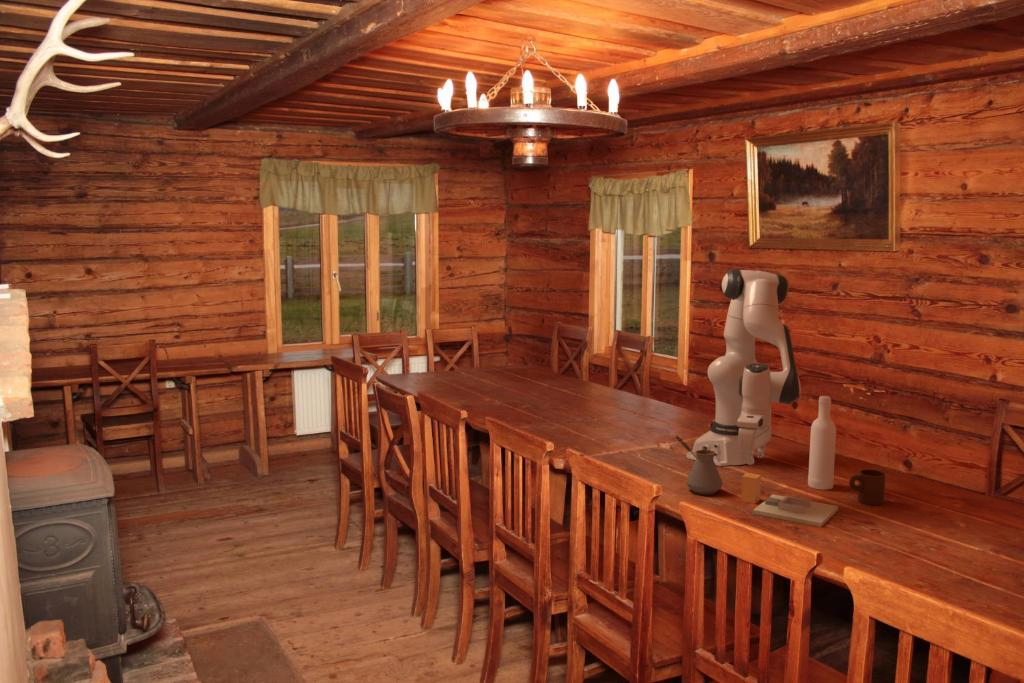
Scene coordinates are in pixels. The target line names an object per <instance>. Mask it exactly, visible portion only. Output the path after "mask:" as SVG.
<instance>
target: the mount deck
mask: <svg viewBox="0 0 1024 683" xmlns="http://www.w3.org/2000/svg"><path fill="white" fill-rule="evenodd" d="M752 510H753V511H752V514H753V515H756V516H757V515H758V516H763V517H768V518H774V519H778V520H783V521H788V522H793V523H794V522H795V523H800V524H805V525H809V526H813V527H815V526H816V527H820V528H822V527H823V526H824V525H825V524H826V523H827V522H828V521H829V520H830V519H831V518H832V517H833V516H834V515H835V513H837V511H839V506H838V505H835V504H829V503H822V502H817V501H812V500H811V499H808V498H803V497H796V496H790V495H786V496H783V495H778V494H771V495H769V497H767V498H766V499H765V500H764V501H763V502H761V503H760V504H759V505H757V506H756V507H755V508H754V509H752Z"/></svg>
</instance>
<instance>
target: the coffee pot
mask: <svg viewBox="0 0 1024 683" xmlns="http://www.w3.org/2000/svg"><path fill="white" fill-rule="evenodd" d="M675 438H676V440H675ZM672 441H674V442H676V441H678V443H680V444H681V445H682V447H683V448H685V449H686V450H687V451H688V452H691V454H692V455H693V456H694V457H695V458H696V460H694V461H695V462H694V464H693V466H692V468H691V470H690V472H689V474H688V476H687V478H686V479H685V480H686V485H687V487H688V489H690V490H691V491H692V492H693V493H695V494H699V495H713V494H716V493H717V492H718V491H719V490H721V488H722V487H723V481H722V478H721V475H720V473H719V471H718V467H717V465H715V462H714V460H713V458H714V455H715V454H716V453H715V452H714V451H710V450H697V451H696V452H695V453H694V452H693V451H692V450H693V449H691V447H690V446H689V445H688V443H686V442H685V441H684V440H683V439H682V438H680V436H678V435H675V436H674V437H673V440H672Z"/></svg>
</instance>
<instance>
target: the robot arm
mask: <svg viewBox="0 0 1024 683" xmlns="http://www.w3.org/2000/svg"><path fill="white" fill-rule="evenodd" d="M721 289H722V294H723V296H724V297H725V298H727V299H729V300H730V303H729V306H728V309H727V315H726V320H725V326H724V329H723V330H724V331H723V337H724V340H725V345H726V346H725V347H726V348H725V350H726V352H725V354H724V355H722V356H719V357H717V358H716V359H714V360H713V361H712V362H711V363H710V364H709V366H708V367H707V377H708V379H709V382H710V383H711V384H712V387H713V392H714V397H715V418H714V419H713V420H712V421H711V422H709V423H708V428H709V429H710V430H708V431H707V432H705V433H704V434H702V435H701V436H699V437H698V438H697V439H695V441H694V444H693V447H692V449H691V450H692V451H693V452H694V453H695V452H696V451H697V450H710V451H714V452H715V453H716V454H715V455H714V458H713V460H714V462H715V465H716V466H718V467H726V466H727V467H728V466H741V465H746V464H747V465H750V466H753V465H754V464H755V458H754V453H755V451H756V450H757V451H756V457H757V458H758V459H762V458H764V457H765V454H764V453H765V450H766V444H767V443H768V442H770V441H771V439H772V424H771V423H772V404H771V403H779V404H785V405H791V404H793V403H794V402H796V401H797V400H798V399H799V398H800V395H801V394H802V393H801V392H802V387H801V386H802V385H801V381H800V378H799V375H798V371H797V365H796V358H795V354H794V347H793V342H792V338H791V332H790V330H789V328H788V326H787V325H786V324H784V323H783V322H782V321H781V319H780V317H779V305H780V304H783V302H785V300H786V298H787V296H788V293H789V281H788V279H787V277H785V276H784V275H782V274H779V273H772V272H769V271H768V272H767V271H763V270H759V269H758V270H752V269H751V270H750V269H740V268H733V269H728V270H727V272H725V274H724V276H723V278H722V280H721ZM756 338H757V339H759V340H762V341H765V342H767V343H770V344H772V345H773V346H776V347H777V349H778V350H779V353H780V357H781V365H782V370H781V371H771V369H770V367H769V365H766V364H764V363H758V361H757V358H756ZM686 458H687V459H689V460H693V461H696V458H695V457H694V456H693V455H692V454H691V452H689V451H688V452H687V453H686Z"/></svg>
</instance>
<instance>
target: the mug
mask: <svg viewBox="0 0 1024 683" xmlns="http://www.w3.org/2000/svg"><path fill="white" fill-rule="evenodd" d="M856 481H858V485H856ZM848 482H849V488H850V489H851V490H852V491H854V492H855V491H856V492H857V499H858V502H860V503H862V504H865V505H869V506H881V505H882V504H884V502H885V501H884V500H885V489H886V473H885V472H883V471H881V470H877V469H861V470H859V474H854V475H852V476H851V477H850V479H849V481H848Z"/></svg>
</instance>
